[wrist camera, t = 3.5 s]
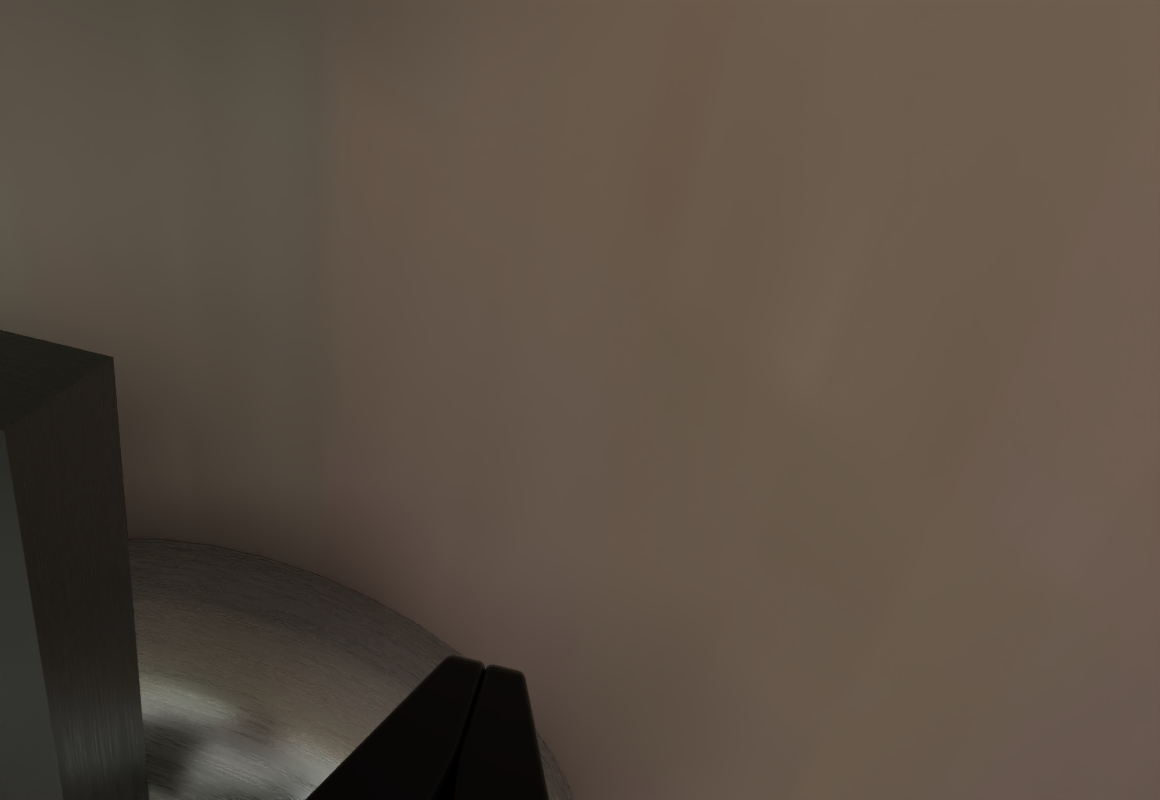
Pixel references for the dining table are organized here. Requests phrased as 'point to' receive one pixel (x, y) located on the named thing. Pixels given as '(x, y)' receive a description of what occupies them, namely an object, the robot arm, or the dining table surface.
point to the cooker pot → (265, 673)
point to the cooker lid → (65, 582)
